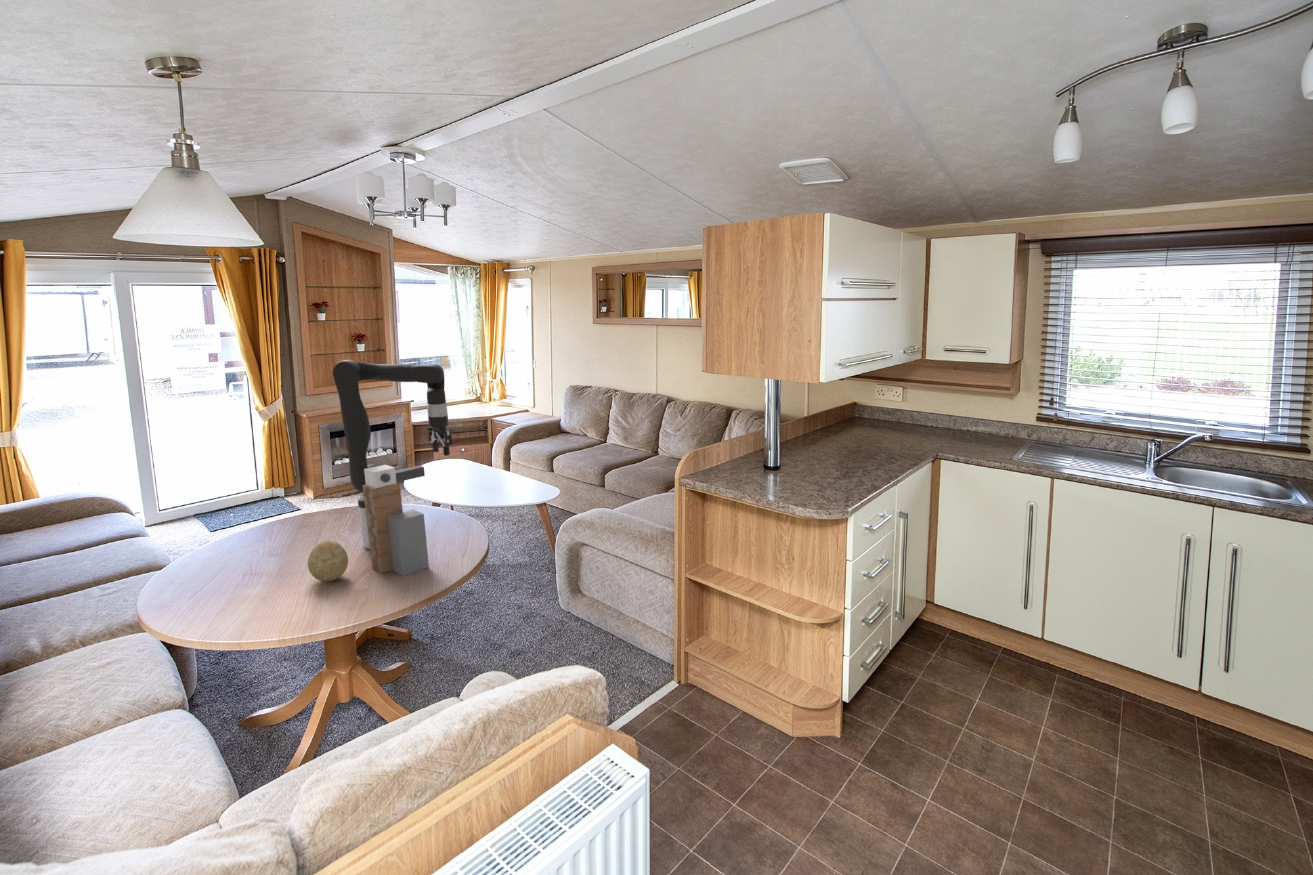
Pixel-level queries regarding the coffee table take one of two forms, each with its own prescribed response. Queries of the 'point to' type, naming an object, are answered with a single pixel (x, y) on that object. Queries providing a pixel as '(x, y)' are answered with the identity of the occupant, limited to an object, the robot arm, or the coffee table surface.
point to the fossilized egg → (327, 561)
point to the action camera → (390, 475)
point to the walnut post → (381, 522)
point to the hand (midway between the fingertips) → (441, 453)
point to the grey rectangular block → (408, 542)
